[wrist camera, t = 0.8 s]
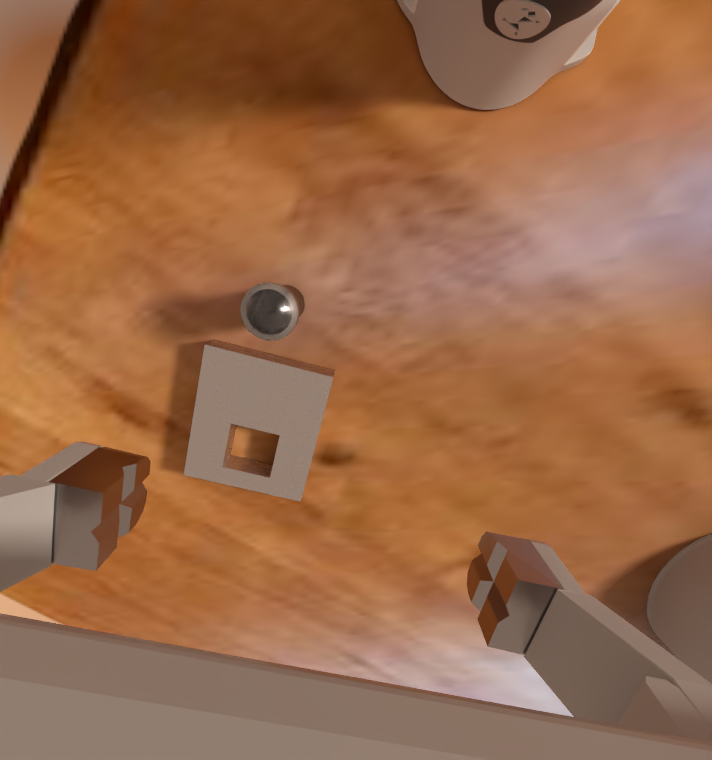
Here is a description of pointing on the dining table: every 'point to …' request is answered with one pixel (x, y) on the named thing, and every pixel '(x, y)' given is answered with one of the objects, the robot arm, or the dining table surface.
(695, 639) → the grey dome pendant lamp
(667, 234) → the dining table surface
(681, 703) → the robot arm
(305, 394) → the jig
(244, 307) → the flashlight
